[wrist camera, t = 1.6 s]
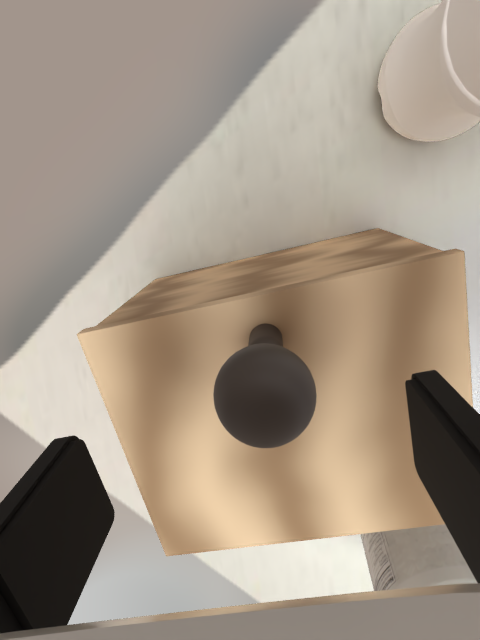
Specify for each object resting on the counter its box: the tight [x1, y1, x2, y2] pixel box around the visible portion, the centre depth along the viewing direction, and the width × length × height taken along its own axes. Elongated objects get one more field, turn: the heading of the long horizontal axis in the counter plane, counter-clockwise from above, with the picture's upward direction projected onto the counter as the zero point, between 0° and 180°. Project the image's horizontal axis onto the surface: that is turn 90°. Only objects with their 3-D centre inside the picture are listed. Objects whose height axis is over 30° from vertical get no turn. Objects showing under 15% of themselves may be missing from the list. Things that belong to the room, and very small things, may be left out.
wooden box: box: [97, 228, 442, 326], centre depth 26 cm, size 18×15×12 cm
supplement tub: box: [361, 524, 478, 591], centre depth 29 cm, size 10×10×15 cm
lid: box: [77, 249, 473, 556], centre depth 17 cm, size 18×15×8 cm
